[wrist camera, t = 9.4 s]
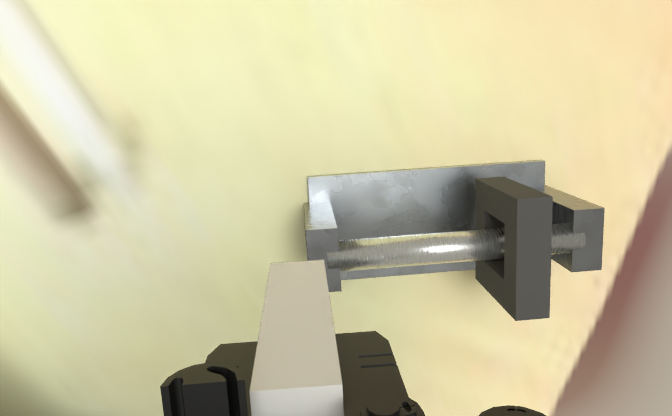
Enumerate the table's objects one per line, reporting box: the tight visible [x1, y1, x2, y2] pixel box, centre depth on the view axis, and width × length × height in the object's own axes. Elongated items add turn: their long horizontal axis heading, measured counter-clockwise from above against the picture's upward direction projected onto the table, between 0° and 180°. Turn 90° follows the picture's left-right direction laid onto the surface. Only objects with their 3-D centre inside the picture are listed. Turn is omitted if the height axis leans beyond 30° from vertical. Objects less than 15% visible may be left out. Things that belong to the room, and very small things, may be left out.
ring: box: [475, 177, 553, 321], centre depth 42 cm, size 2×9×9 cm, turn 4°
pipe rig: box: [304, 160, 604, 292], centre depth 46 cm, size 23×10×10 cm, turn 94°
